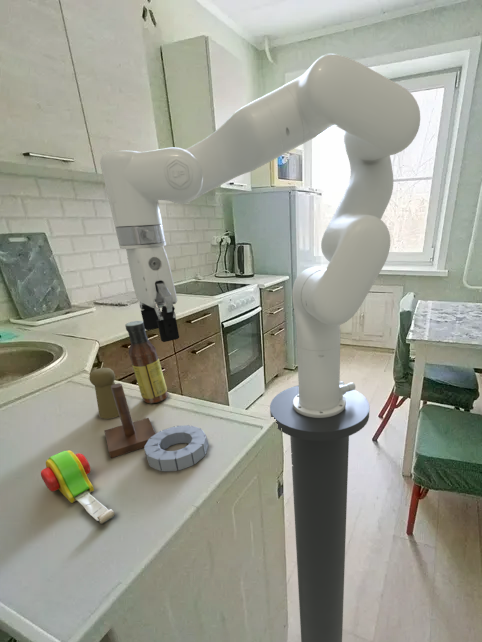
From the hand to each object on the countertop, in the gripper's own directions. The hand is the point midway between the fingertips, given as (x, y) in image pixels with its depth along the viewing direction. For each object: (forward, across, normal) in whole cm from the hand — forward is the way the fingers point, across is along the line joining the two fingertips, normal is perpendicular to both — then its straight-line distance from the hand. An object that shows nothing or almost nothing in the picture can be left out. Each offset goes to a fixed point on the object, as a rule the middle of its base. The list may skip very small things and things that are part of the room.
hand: (161, 334), depth 68 cm
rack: (+21, +2, +10) cm, 23 cm away
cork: (+21, +17, +10) cm, 29 cm away
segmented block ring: (+21, -9, +4) cm, 23 cm away
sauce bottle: (+21, +17, 0) cm, 27 cm away
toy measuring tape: (+21, -9, +21) cm, 31 cm away
